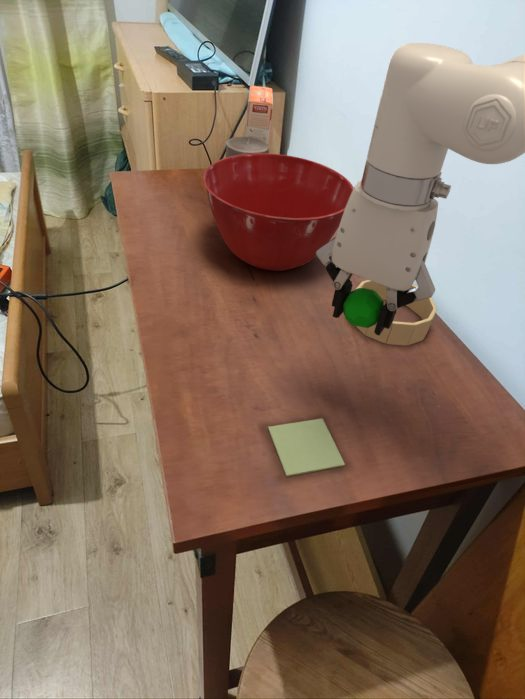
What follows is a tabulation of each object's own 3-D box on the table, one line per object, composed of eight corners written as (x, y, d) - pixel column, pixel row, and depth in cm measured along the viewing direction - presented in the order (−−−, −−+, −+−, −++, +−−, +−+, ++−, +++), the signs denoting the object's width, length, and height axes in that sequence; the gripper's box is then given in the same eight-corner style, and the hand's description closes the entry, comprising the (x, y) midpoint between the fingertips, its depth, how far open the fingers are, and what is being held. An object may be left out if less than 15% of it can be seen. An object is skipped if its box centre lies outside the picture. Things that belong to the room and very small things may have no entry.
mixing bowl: (330, 306, 93) (348, 229, 83) (181, 274, 95) (181, 196, 85) (345, 236, 114) (361, 168, 104) (222, 212, 117) (226, 143, 107)
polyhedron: (338, 330, 63) (346, 299, 60) (341, 308, 67) (348, 277, 64) (378, 338, 63) (388, 307, 60) (378, 315, 67) (388, 285, 64)
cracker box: (263, 192, 127) (273, 103, 114) (239, 190, 127) (246, 100, 113) (264, 171, 138) (273, 87, 124) (242, 168, 138) (248, 84, 124)
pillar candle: (257, 193, 127) (263, 130, 117) (267, 210, 120) (275, 146, 110) (218, 193, 124) (221, 130, 114) (227, 212, 117) (231, 145, 107)
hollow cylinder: (436, 315, 94) (444, 295, 91) (414, 356, 84) (423, 335, 81) (366, 289, 98) (371, 269, 95) (338, 324, 89) (343, 303, 86)
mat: (322, 420, 71) (322, 418, 71) (344, 466, 66) (345, 464, 65) (267, 428, 69) (268, 426, 69) (286, 477, 63) (286, 475, 63)
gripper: (487, 195, 53) (432, 332, 65) (338, 151, 58) (313, 284, 70) (471, 220, 48) (414, 363, 59) (309, 169, 53) (287, 310, 65)
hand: (360, 319), depth 65 cm, fingers closed on polyhedron, 5 cm apart
